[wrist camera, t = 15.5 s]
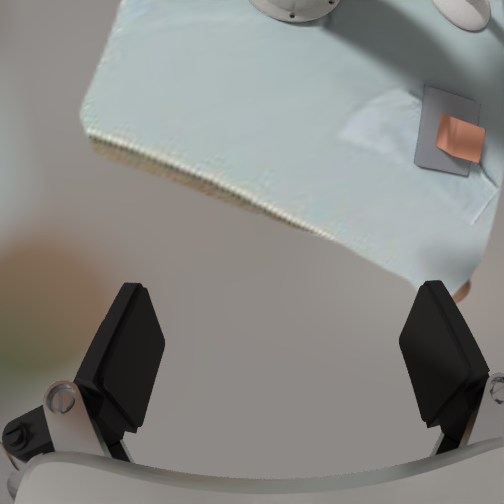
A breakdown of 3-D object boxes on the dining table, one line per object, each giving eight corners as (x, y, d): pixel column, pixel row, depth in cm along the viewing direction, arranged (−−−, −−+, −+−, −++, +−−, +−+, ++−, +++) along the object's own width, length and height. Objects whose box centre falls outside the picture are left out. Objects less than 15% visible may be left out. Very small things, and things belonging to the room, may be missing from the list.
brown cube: (440, 113, 31) (459, 119, 27) (466, 121, 31) (485, 129, 27) (435, 145, 34) (452, 155, 30) (460, 152, 34) (478, 163, 30)
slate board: (424, 85, 31) (429, 86, 30) (475, 102, 31) (480, 104, 29) (413, 162, 38) (417, 165, 36) (462, 172, 37) (467, 175, 36)
